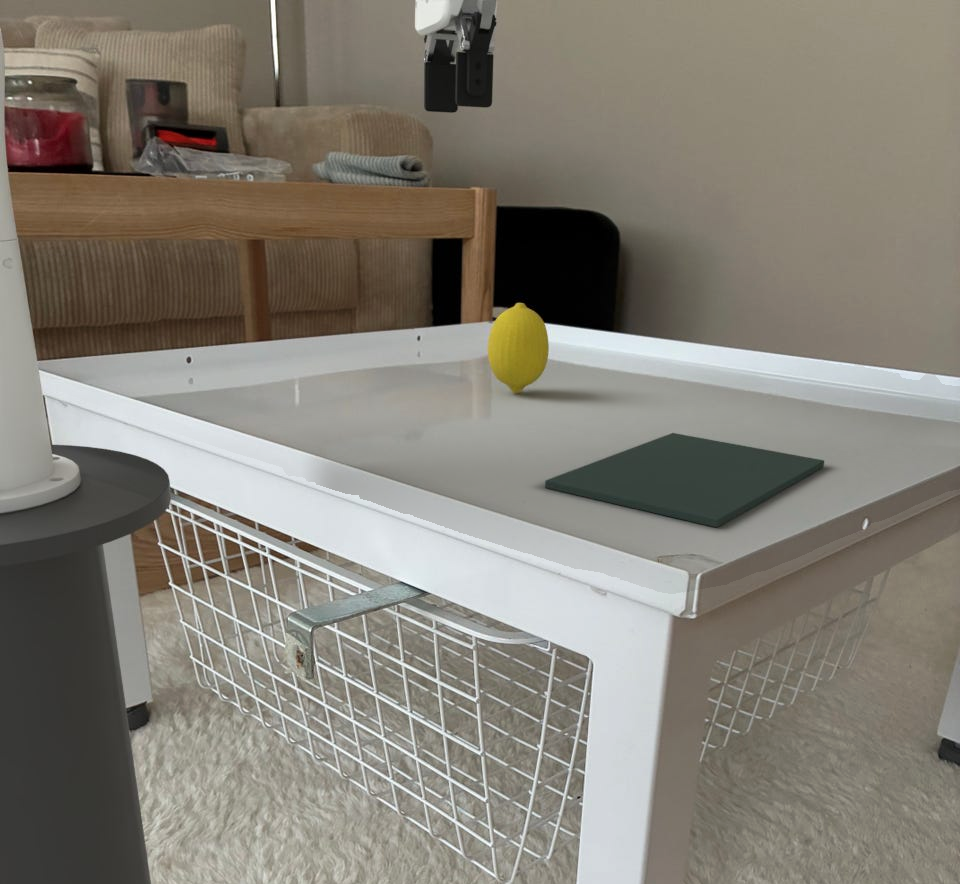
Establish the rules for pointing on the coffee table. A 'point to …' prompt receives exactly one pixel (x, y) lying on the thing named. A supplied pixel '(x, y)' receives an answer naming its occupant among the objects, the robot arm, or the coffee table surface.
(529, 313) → the lemon
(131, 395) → the coffee table surface
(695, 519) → the edge mat
